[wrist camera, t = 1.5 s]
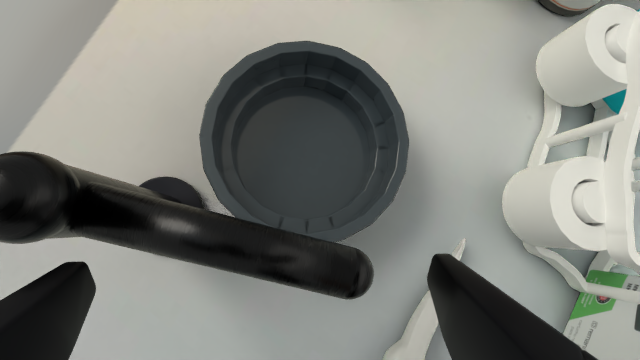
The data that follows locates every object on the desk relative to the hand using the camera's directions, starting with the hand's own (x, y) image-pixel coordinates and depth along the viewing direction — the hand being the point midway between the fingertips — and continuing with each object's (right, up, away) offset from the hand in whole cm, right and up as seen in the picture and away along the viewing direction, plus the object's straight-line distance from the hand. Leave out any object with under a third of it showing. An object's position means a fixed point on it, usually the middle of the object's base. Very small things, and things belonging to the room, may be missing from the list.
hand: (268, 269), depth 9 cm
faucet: (-4, -1, +13) cm, 13 cm away
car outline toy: (+21, +4, +18) cm, 28 cm away
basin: (0, +4, +15) cm, 15 cm away
